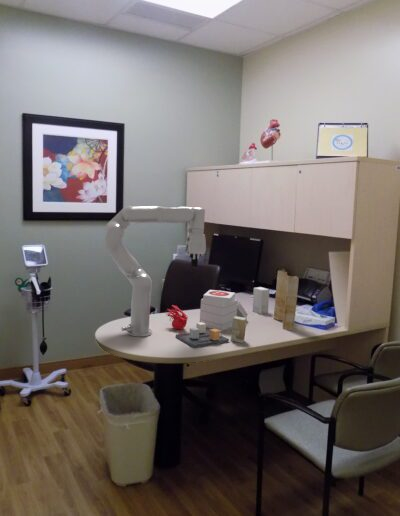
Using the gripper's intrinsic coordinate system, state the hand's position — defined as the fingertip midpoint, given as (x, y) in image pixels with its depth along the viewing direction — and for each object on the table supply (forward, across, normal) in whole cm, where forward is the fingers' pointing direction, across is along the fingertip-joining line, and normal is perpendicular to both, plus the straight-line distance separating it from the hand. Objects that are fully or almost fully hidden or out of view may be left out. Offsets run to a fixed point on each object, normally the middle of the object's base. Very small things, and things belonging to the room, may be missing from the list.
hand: (194, 266), depth 247 cm
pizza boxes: (+35, +26, +5) cm, 44 cm away
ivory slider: (+33, +1, -8) cm, 34 cm away
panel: (+35, -2, -14) cm, 38 cm away
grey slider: (+33, -7, -14) cm, 37 cm away
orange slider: (+33, +1, -20) cm, 39 cm away
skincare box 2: (+35, +62, +14) cm, 73 cm away
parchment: (+35, +58, -11) cm, 69 cm away
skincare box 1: (+35, +14, -23) cm, 44 cm away
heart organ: (+35, -4, +6) cm, 36 cm away
